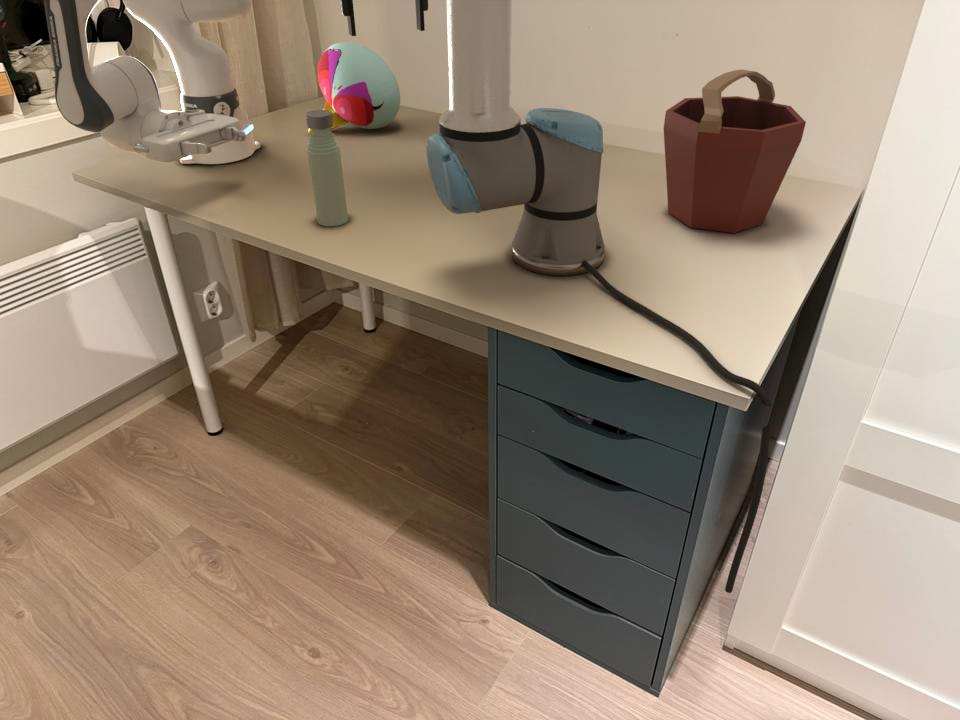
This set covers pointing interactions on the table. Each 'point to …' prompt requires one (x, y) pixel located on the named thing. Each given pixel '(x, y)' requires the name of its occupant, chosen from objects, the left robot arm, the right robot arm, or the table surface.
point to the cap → (319, 119)
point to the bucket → (728, 154)
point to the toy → (357, 86)
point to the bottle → (327, 178)
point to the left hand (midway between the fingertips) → (226, 142)
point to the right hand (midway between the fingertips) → (387, 32)
